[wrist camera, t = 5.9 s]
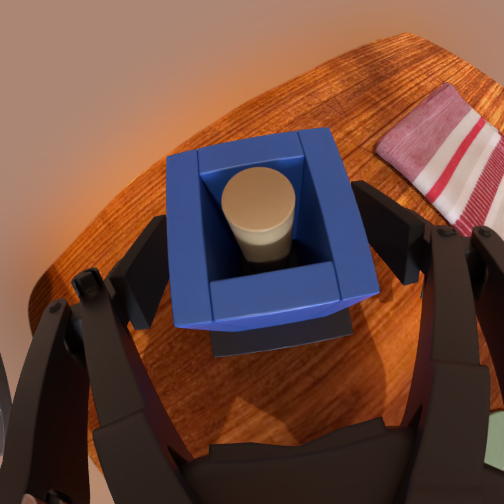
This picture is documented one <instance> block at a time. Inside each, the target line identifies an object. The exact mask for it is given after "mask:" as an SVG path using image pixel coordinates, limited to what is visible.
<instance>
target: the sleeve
mask: <svg viewBox="0 0 504 504" xmlns="http://www.w3.org/2000/svg"><path fill="white" fill-rule="evenodd" d="M253 167H266V168H271V169H274V170H276V171H278V172H280V173H281V174H283V175H284V176H285V177H286V178H287V179H288V180H289V181H290V183H291V184H292V186H293V189H294V192H295V211H294V223H293V235H292V245H291V247H294V246H295V250H296V255H297V260H298V265H299V267H294V268H288V269H282V270H277V271H271V272H265V273H259V274H253V275H247V276H243V269H242V262H241V256H244V255H243V252H242V250H241V248H240V246H239V244H238V242H237V240H236V238H235V236H234V234H233V231H232V229H231V227H230V225H229V223H228V221H227V219H226V217H225V215H224V212H223V209H222V204H221V199H222V194H223V191H224V188H225V186H226V185H227V183H228V182H229V180H230V179H231V178H232V177H234V176H235V175H236V174H238V173H239V172H241V171H243V170H246V169H249V168H253ZM166 212H167V242H168V261H169V276H170V289H171V301H172V311H173V321H174V326H175V327H178V328H188V329H200V330H213V331H228V332H236V331H244V330H250V329H257V328H264V327H270V326H276V325H282V324H288V323H293V322H299V321H304V320H308V319H309V320H310V319H315V318H320V317H325V316H328V315H330V314H333V313H335V312H337V311H340V310H342V309H344V308H347V307H349V306H351V305H354V304H356V303H358V302H360V301H362V300H365V299H367V298H369V297H371V296H373V295H375V294H378V293H379V292H380V288H379V284H378V279H377V275H376V271H375V267H374V263H373V259H372V255H371V251H370V247H369V243H368V240H367V236H366V232H365V229H364V226H363V222H362V219H361V215H360V212H359V209H358V206H357V203H356V200H355V196H354V193H353V190H352V187H351V185H350V182H349V179H348V176H347V173H346V170H345V168H344V165H343V162H342V159H341V157H340V154H339V151H338V149H337V146H336V144H335V141H334V139H333V136H332V134H331V131H330V129H329V127H324V128H314V129H305V130H298V132H296V131H291V132H284V133H277V134H270V135H264V136H258V137H252V138H247V139H241V140H236V141H231V142H226V143H221V144H216V145H211V146H207V147H203V148H199V149H198V151H197V149H194V150H190V151H186V152H182V153H178V154H174V155H170V156H167V159H166Z"/></svg>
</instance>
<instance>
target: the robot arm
mask: <svg viewBox="0 0 504 504" xmlns="http://www.w3.org/2000/svg"><path fill="white" fill-rule="evenodd" d="M351 187H352V190H353V193H354V196H355V200H356V203H357V206H358V209H359V212H360V215H361V219H362V222H363V226H364V229H365V232H366V236H367V240H368V243H369V244H370V245H371V246H372V247H373V249H374V250H375V251H376V252H377V253H378V255H379V256H380V257H381V258H382V259H383V261H384V262H385V263H386V264H387V265H388V267H389V268H390V269H391V270H392V272H393V273H394V274H395V275H396V277H397V278H398V279H399V281H400V282H401V283H402V284H403V286H404V285H408V284H412V283H416V282H418V278H419V272H420V270H421V271H422V272H423V274H424V275H425V276H424V282H423V287H422V292H421V297H420V298H422V311H421V322H420V332H419V340H418V347H417V354H416V361H415V367H414V372H413V378H412V383H411V388H410V392H409V397H408V401H407V405H406V410H405V413H404V417H403V419H402V422H401V424H400V426H385V424H384V421H383V418H382V416H381V417H378V418H375V419H372V420H368V421H365V422H361V423H358V424H354V425H350V426H346V427H342V428H340V429H338V430H336V431H334V432H331V433H329V434H327V435H325V436H323V437H320V438H318V439H316V440H313V441H311V442H309V443H306V444H304V445H301V446H296V447H293V446H280V445H270V444H261V443H253V442H248V443H233V444H209V455H205V456H202V457H199V458H196V459H194V457H193V456H192V455H191V454H190V452H189V451H188V449H187V448H186V446H185V445H184V443H183V441H182V439H181V438H180V436H179V434H178V433H177V431H176V429H175V427H174V425H173V424H172V422H171V420H170V418H169V416H168V414H167V412H166V411H165V409H164V407H163V405H162V403H161V401H160V399H159V397H158V395H157V393H156V391H155V389H154V386H153V384H152V382H151V380H150V378H149V376H148V374H147V371H146V369H145V367H144V365H143V362H142V360H141V358H140V355H139V353H138V350H137V348H136V346H135V343H134V341H133V338H132V336H131V333H130V331H129V329H128V328H127V325H128V322H129V320H130V321H131V323H132V325H133V327H134V329H135V330H141V329H150V328H151V325H152V322H153V319H154V317H155V314H156V311H157V309H158V306H159V303H160V301H161V298H162V295H163V293H164V290H165V288H166V285H167V283H168V280H169V277H170V276H169V261H168V242H167V218H166V214H165V215H161V216H156V217H154V218H153V219H152V220H151V221H150V223H149V224H148V225H147V226H146V228H145V229H144V230H143V232H142V233H141V234H140V236H139V237H138V238H137V239H136V241H135V242H134V243H133V245H132V246H131V247H130V249H129V250H128V252H127V253H126V254H125V256H124V257H123V258H122V259H121V260H119V261H118V262H117V263H116V264H115V265H114V267H113V268H112V270H111V271H110V272H109V275H107V277H106V278H105V279H104V281H103V279H102V277H101V275H100V273H99V271H98V269H97V268H89V269H86V270H84V271H82V272H80V273H79V274H77V275H76V276H75V277H74V278H73V279H72V282H71V283H72V285H73V287H74V289H75V291H76V293H77V295H78V297H79V299H80V303H78V304H75V305H73V306H69V304H68V302H67V301H66V299H64V298H61V299H57V300H54V301H52V302H51V303H49V305H48V306H47V307H46V309H45V310H44V312H43V315H42V317H41V319H40V322H39V324H38V327H37V329H36V332H35V334H34V337H33V339H32V342H31V345H30V348H29V350H28V353H27V356H26V359H25V362H24V365H23V368H22V371H21V375H20V378H19V381H18V385H17V388H16V392H15V396H14V400H13V404H12V408H11V413H10V417H9V422H8V427H7V433H6V439H5V446H4V453H3V462H2V465H1V468H0V504H90V485H89V471H88V445H87V426H88V399H89V385H91V390H92V394H93V399H94V403H95V408H96V412H97V416H98V420H99V423H100V428H97V429H95V430H94V431H93V433H92V434H93V441H94V445H95V448H96V452H97V455H98V458H99V461H100V465H101V468H102V471H103V474H104V477H105V479H106V482H107V485H108V488H109V490H110V493H111V495H112V498H113V500H114V503H115V504H504V471H503V470H500V469H498V468H496V467H494V466H491V465H489V464H487V463H485V462H484V460H485V453H486V446H487V438H488V427H489V413H490V373H489V368H488V367H487V365H480V362H479V343H478V331H477V321H476V316H477V319H478V321H479V324H480V326H481V329H482V332H483V334H484V337H485V340H486V343H487V346H488V349H489V352H490V355H491V358H492V361H493V364H494V368H495V371H496V375H497V378H498V382H499V386H500V390H501V394H502V399H503V403H504V241H503V240H502V238H501V237H500V236H499V235H498V234H497V233H496V232H495V231H494V230H493V229H491V228H490V227H488V226H484V225H483V226H475V227H473V229H472V234H471V237H460V235H459V232H458V231H457V230H456V229H454V228H452V227H449V226H445V225H437V226H434V225H433V224H432V223H430V222H429V221H427V220H426V219H424V218H423V217H422V216H420V215H419V214H418V213H416V212H415V211H413V210H410V209H407V208H404V207H402V206H401V205H399V204H398V203H397V202H395V201H394V200H392V199H391V198H389V197H388V196H386V195H385V194H383V193H382V192H380V191H379V190H377V189H376V188H374V187H373V186H371V185H369V184H368V183H366V182H365V181H363V180H361V181H353V182H351Z"/></svg>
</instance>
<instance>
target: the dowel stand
mask: <svg viewBox="0 0 504 504" xmlns="http://www.w3.org/2000/svg"><path fill="white" fill-rule="evenodd" d="M221 204H222V209H223V212H224V215H225V217H226V219H227V221H228V223H229V225H230V227H231V229H232V231H233V234H234V236H235V238H236V240H237V242H238V244H239V246H240V248H241V250H242V252H243V255H244V256H241V262H242V269H243V276H247V275H253V274H259V273H265V272H271V271H277V270H282V269H288V268H294V267H299V265H298V260H297V255H296V250H295V246H294V247H291V245H292V235H293V223H294V211H295V192H294V189H293V186H292V184H291V183H290V181H289V180H288V179H287V178H286V177H285V176H284V175H283V174H281V173H280V172H278V171H276V170H274V169H271V168H266V167H253V168H249V169H246V170H243V171H241V172H239V173H238V174H236V175H235V176H234V177H232V178H231V179H230V180H229V182H228V183H227V185H226V186H225V188H224V191H223V194H222V199H221ZM352 334H353V329H352V324H351V318H350V313H349V307H347V308H344V309H342V310H340V311H337V312H335V313H333V314H330V315H328V316H325V317H320V318H315V319H310V320H309V319H308V320H304V321H299V322H293V323H288V324H282V325H276V326H270V327H264V328H257V329H250V330H244V331H236V332H228V331H213V330H210V338H211V345H212V352H213V357H214V358H215V357H224V356H233V355H241V354H249V353H256V352H263V351H269V350H276V349H282V348H288V347H293V346H299V345H304V344H310V343H315V342H320V341H325V340H329V339H334V338H339V337H343V336H347V335H352Z"/></svg>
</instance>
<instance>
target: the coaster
mask: <svg viewBox="0 0 504 504" xmlns="http://www.w3.org/2000/svg"><path fill="white" fill-rule="evenodd" d="M484 462H485V463H487V464H489V465H491V466H494V467H496V468H498V469H500V470H503V471H504V411H495V412H492V413H489V427H488V438H487V446H486V453H485V460H484Z"/></svg>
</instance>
